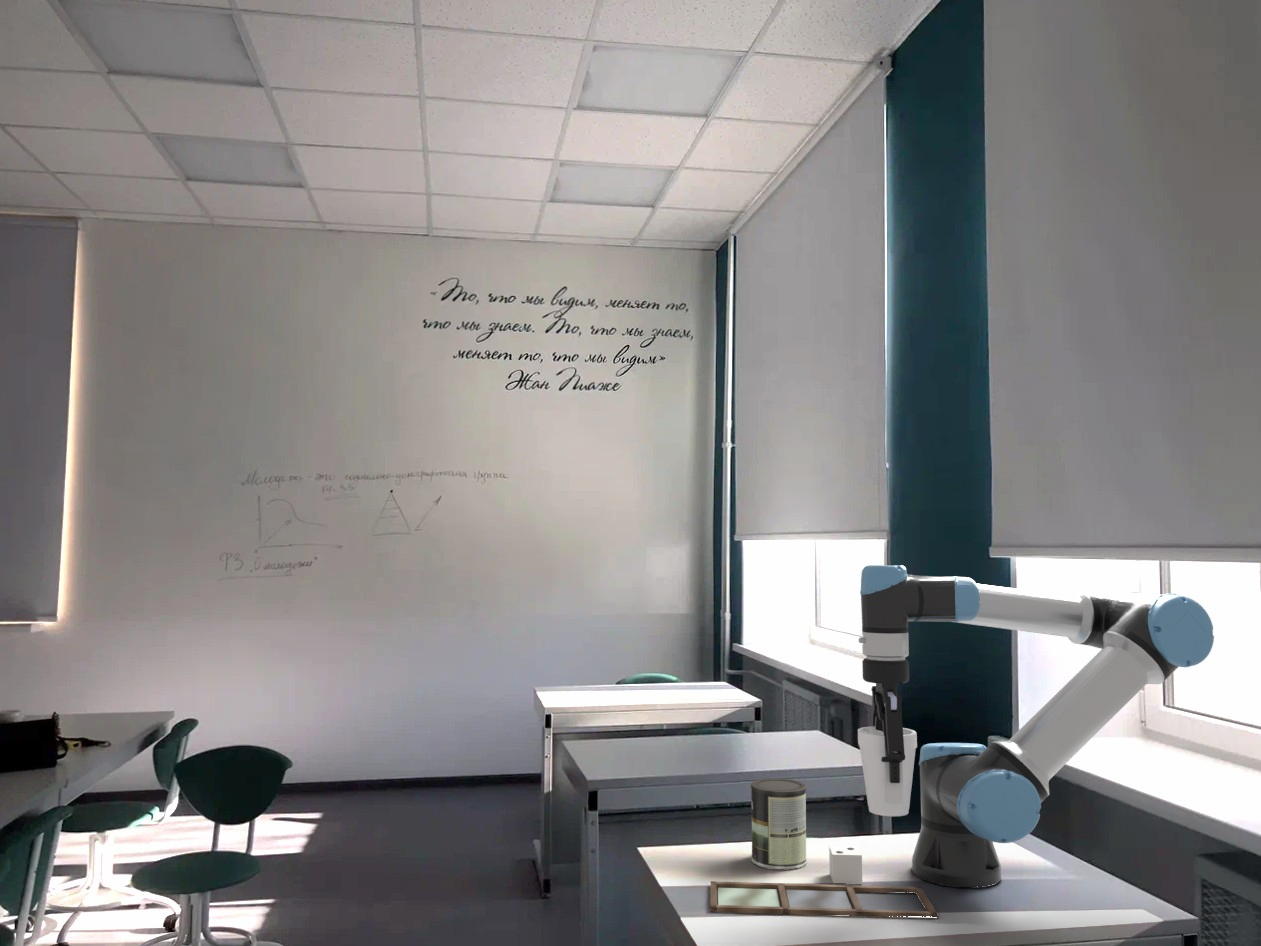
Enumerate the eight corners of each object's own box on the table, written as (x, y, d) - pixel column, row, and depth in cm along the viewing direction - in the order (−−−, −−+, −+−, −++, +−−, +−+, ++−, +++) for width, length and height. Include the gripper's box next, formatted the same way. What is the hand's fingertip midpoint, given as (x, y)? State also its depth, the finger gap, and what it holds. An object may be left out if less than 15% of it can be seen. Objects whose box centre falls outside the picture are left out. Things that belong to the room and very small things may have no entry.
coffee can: (742, 864, 182) (741, 786, 183) (764, 850, 190) (763, 776, 192) (795, 874, 176) (794, 793, 178) (815, 859, 185) (814, 782, 186)
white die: (858, 875, 176) (857, 846, 176) (862, 885, 171) (861, 854, 171) (829, 874, 176) (829, 845, 177) (833, 884, 171) (832, 854, 172)
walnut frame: (920, 892, 167) (920, 887, 167) (937, 919, 155) (937, 913, 155) (710, 886, 170) (710, 881, 170) (710, 912, 157) (710, 906, 157)
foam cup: (855, 815, 160) (854, 734, 161) (862, 802, 168) (861, 724, 170) (916, 821, 157) (914, 737, 158) (920, 807, 165) (918, 728, 166)
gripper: (853, 651, 176) (855, 779, 174) (873, 664, 154) (876, 811, 152) (895, 651, 175) (898, 780, 173) (922, 665, 153) (926, 812, 151)
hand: (888, 795), depth 163 cm, fingers closed on foam cup, 9 cm apart
